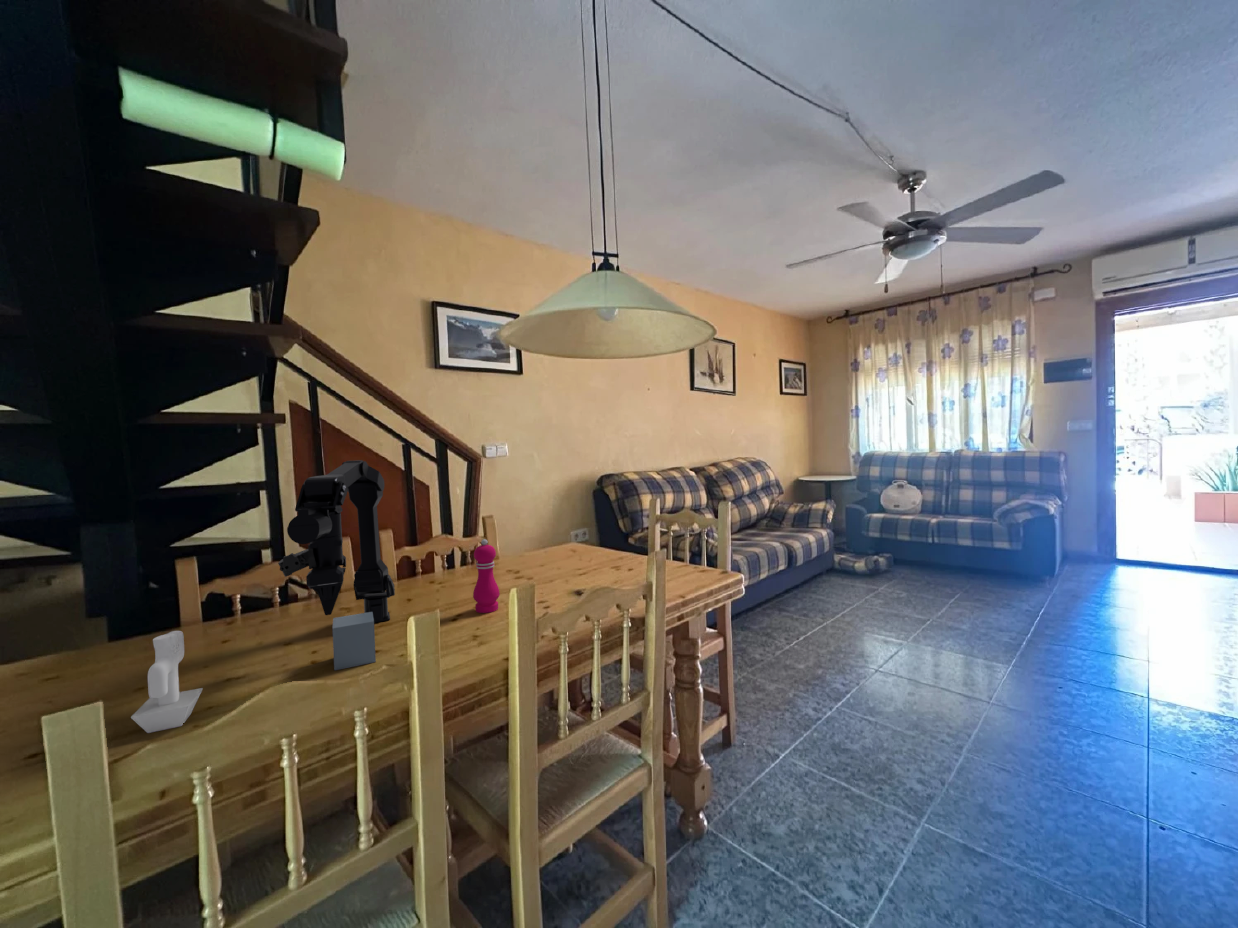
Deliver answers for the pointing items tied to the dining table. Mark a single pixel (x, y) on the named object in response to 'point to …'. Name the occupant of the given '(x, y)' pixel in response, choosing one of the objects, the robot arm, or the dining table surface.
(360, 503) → the robot arm
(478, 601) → the pepper mill
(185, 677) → the dining table surface
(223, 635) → the dining table surface
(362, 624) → the slate grey cube
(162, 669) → the figurine
